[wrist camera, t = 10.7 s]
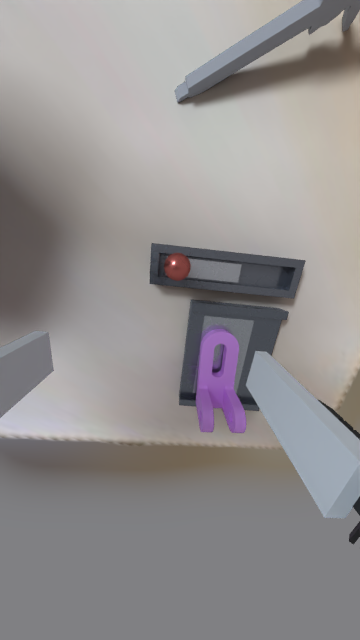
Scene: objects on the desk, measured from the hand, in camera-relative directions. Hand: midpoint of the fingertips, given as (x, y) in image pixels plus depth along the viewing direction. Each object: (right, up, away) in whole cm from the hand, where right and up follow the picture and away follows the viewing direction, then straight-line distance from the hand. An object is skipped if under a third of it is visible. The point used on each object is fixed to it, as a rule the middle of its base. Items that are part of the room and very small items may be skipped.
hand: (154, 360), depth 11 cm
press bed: (+9, -3, +18) cm, 20 cm away
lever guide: (+8, +10, +14) cm, 18 cm away
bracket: (+7, -5, +17) cm, 19 cm away
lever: (+5, +10, +13) cm, 17 cm away
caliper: (+11, +31, +8) cm, 33 cm away
